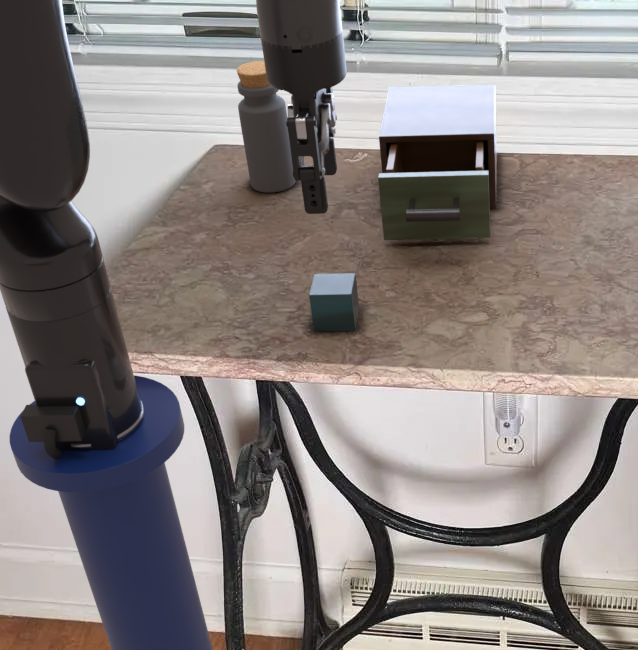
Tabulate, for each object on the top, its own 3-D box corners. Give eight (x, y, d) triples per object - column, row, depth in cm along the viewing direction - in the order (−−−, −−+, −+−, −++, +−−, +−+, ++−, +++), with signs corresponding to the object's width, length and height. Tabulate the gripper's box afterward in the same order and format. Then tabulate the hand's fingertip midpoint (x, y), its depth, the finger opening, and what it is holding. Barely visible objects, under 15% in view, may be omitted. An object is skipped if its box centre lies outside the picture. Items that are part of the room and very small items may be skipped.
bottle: (282, 169, 156) (265, 55, 147) (304, 184, 152) (288, 68, 143) (242, 182, 154) (223, 67, 144) (264, 197, 150) (245, 80, 140)
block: (355, 330, 124) (351, 294, 122) (313, 331, 125) (308, 295, 122) (359, 309, 128) (355, 273, 125) (319, 309, 128) (314, 273, 125)
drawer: (489, 255, 134) (487, 191, 129) (380, 258, 134) (374, 194, 130) (491, 183, 149) (489, 123, 144) (393, 185, 149) (387, 125, 144)
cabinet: (496, 208, 145) (494, 133, 139) (385, 211, 146) (378, 136, 139) (496, 155, 157) (495, 83, 151) (394, 157, 158) (388, 86, 152)
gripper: (271, 5, 114) (294, 163, 124) (247, 57, 103) (274, 227, 113) (349, 2, 114) (365, 161, 124) (333, 55, 103) (352, 224, 113)
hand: (321, 192), depth 119 cm, fingers open, 8 cm apart
